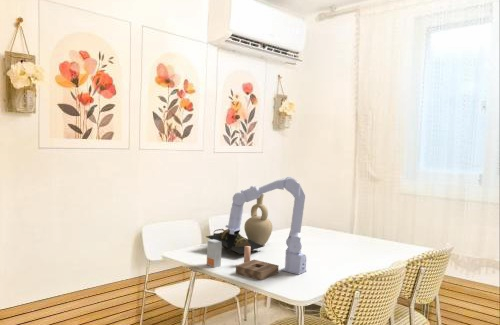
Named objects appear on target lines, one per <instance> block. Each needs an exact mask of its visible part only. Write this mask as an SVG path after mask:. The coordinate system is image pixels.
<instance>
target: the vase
mask: <svg viewBox="0 0 500 325" xmlns="http://www.w3.org/2000/svg"><path fill="white" fill-rule="evenodd" d="M264 196H265V193H263V194H261V195H260V198H257V199H256V203H255V204H253V205H252V206H251V208H250V217H249V218H248V219H247V220H245V222H244V232H245V235H246V237H247V238H246V239H249V240H251V241H253V242H255V243H257V244H260V245H262V246H264V245H265V244H266V243H267V242H268V241H269V239H270V237H271V235H272V232H273V222H272V221H271V219H269V218H268V216H269V211H268V208H267V207H266V205H265V204H263V203H264V202H263V201H264ZM258 209H260V212H261V215H258Z"/></svg>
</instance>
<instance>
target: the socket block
mask: <svg viewBox="0 0 500 325" xmlns="http://www.w3.org/2000/svg"><path fill="white" fill-rule="evenodd" d="M278 273H279V265H278V264H274V263H270V262H266V261H261V260H258V259H250V261H248V262H245V263H244V262H242V263H240V264H237V265H235V274H237V275H241V276H244V277H248V278H252V279H256V280H259V281H263V280H266V279H268V278H270V277H272V276H274V275H277V274H278Z"/></svg>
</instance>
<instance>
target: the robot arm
mask: <svg viewBox="0 0 500 325" xmlns="http://www.w3.org/2000/svg"><path fill="white" fill-rule="evenodd" d="M284 189H285V190H286V191H287V192H289V193H290V194H291V195H292V197H293V198H294V200H293V207H292V208H293V209H292V214H291V215H292V216H291V223H290V224H291V225H290V229H289V230H290V231H289V234H288V237H287V239H286V240H285V241H286V242H285V243H286V247H287V248H286V250H285V257H284V258H285V262H284V267H283V268H281V271H283V272H286V273H291V274H294V275H301V274H303V273H305V272H307V256H306V254H305V253H302V246H303V245H302V241H301V238H302V237H301V230H302V223H303V216H304V209H305V201H306V194H305V192H304V190H303V188H302V185H301V183H300V182H298V181H297V179H295V178H294V177H291V176H287V177H285V178H280V179H276V180H274V181H272V182H269V183H267V184H265V185H262V186H260V187H258V186H257V185H256V186H253V185H251V186H250V187H249V188H247V189H245V190H243V189H242V190H240V192H235V193H234V194H233V196H232V203H231V208H230V213H229V217H228V219H229V220H228V225H227V224H226V225H225V228H226V229H228V230H229V232H226V236H227V247H228V248H231V249H232V247H233V245H234V243H235V240H236V237H237V236H238V233H239V234H240V232H241V224H242V218H243V213H244V212H243V211H244V205H245V203H248V202H251V201H255V200H257V198H260V195H261V194H265V193H268V192H272V191H275V190H281V191H283V190H284Z"/></svg>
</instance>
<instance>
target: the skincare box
mask: <svg viewBox="0 0 500 325" xmlns="http://www.w3.org/2000/svg"><path fill="white" fill-rule="evenodd" d="M206 247H207V249H206V250H207V251H206V265H207V266H210V267H211V268H219V267H221V265H222V248H223V247H222V242H221V241H218V240H215V239H213V240H211V239H208V240H207V246H206Z"/></svg>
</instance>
